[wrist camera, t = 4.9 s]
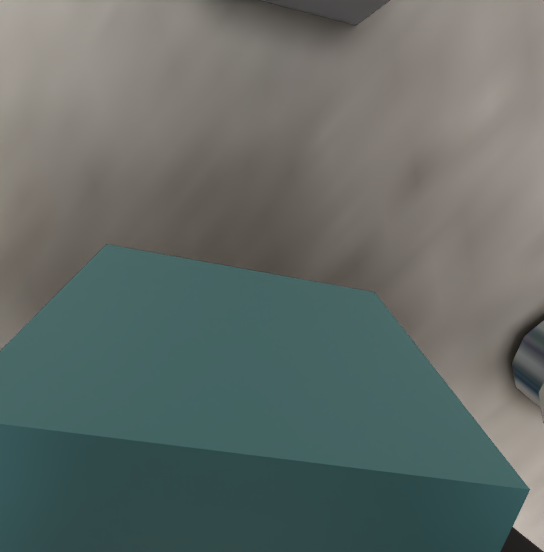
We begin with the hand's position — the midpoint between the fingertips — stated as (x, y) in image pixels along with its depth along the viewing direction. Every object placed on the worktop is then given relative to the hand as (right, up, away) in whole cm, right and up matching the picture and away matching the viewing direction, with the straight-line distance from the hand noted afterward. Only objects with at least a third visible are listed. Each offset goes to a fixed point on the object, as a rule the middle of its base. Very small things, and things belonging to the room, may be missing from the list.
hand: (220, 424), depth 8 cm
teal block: (0, 0, +1) cm, 1 cm away
